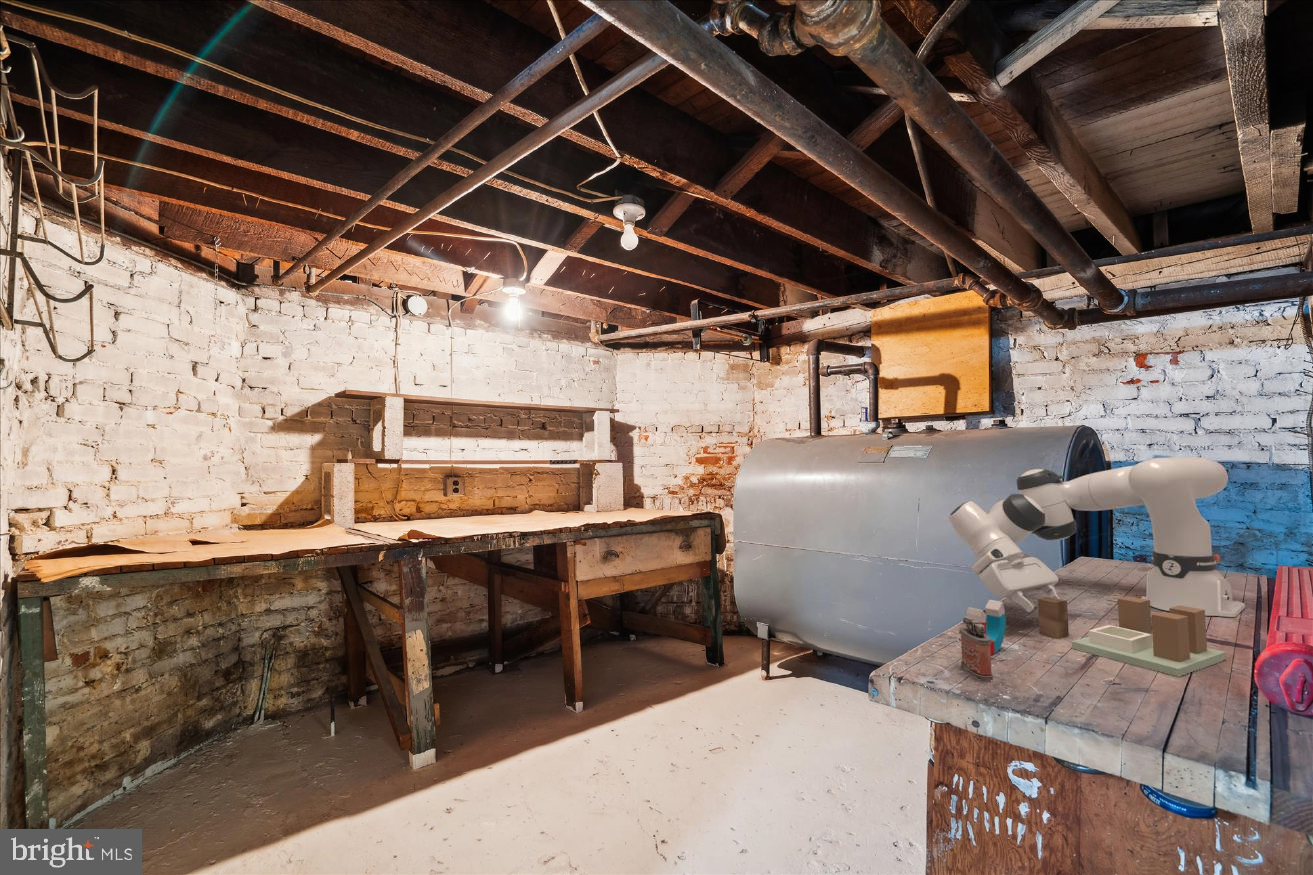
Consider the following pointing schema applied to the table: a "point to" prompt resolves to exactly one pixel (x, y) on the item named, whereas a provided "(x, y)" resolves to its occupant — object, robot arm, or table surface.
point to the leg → (1053, 617)
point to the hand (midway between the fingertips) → (1045, 607)
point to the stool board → (1154, 638)
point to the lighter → (975, 649)
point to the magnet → (991, 622)
